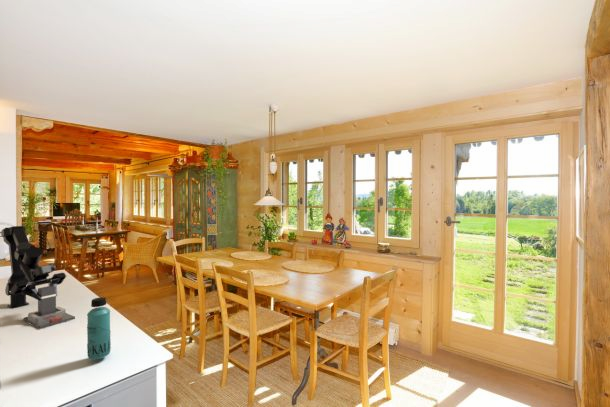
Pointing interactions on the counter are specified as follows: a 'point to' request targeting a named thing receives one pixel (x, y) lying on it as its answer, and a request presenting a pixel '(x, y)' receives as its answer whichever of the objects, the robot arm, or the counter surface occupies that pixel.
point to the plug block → (47, 300)
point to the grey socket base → (48, 318)
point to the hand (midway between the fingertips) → (48, 298)
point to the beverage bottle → (98, 330)
